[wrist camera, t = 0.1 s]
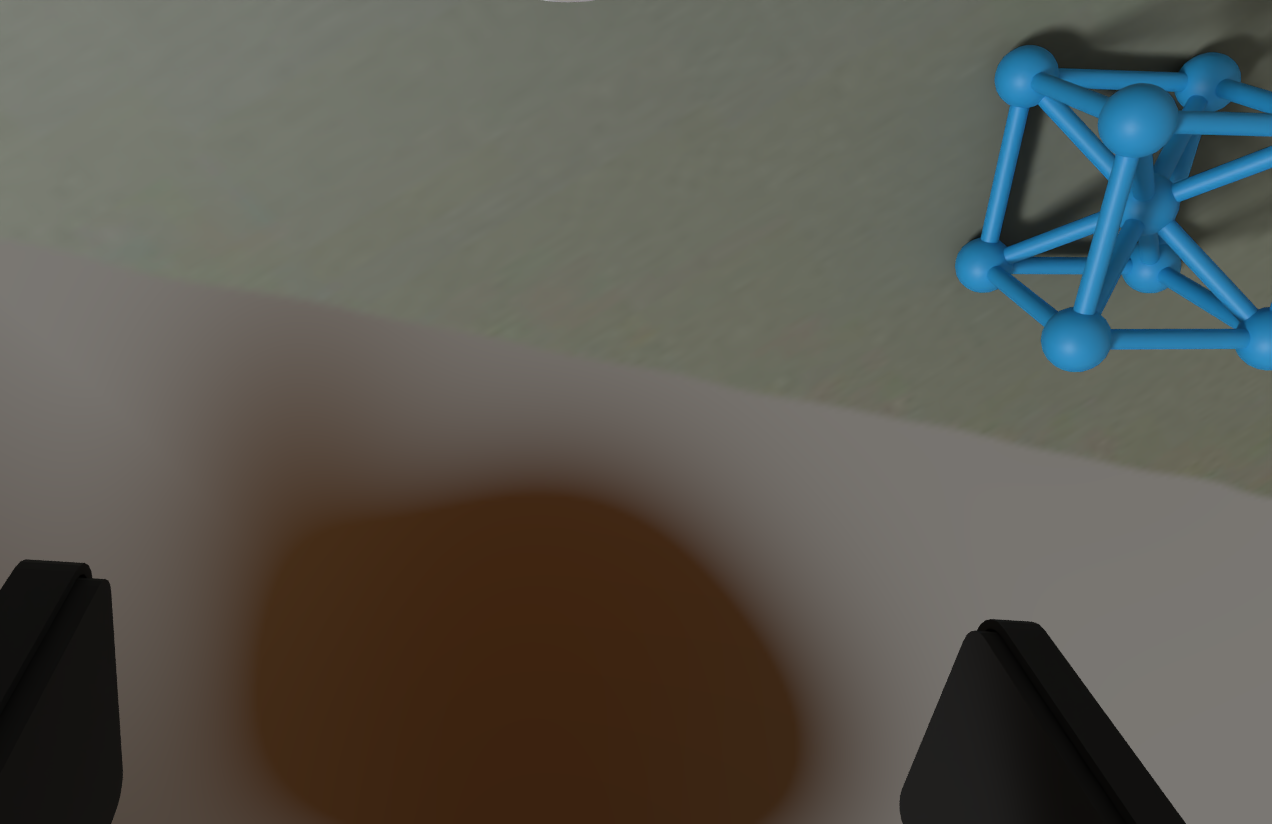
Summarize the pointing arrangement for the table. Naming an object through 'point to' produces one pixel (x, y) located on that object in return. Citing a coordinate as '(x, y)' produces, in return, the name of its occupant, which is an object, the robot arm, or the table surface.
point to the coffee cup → (568, 0)
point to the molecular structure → (1126, 203)
